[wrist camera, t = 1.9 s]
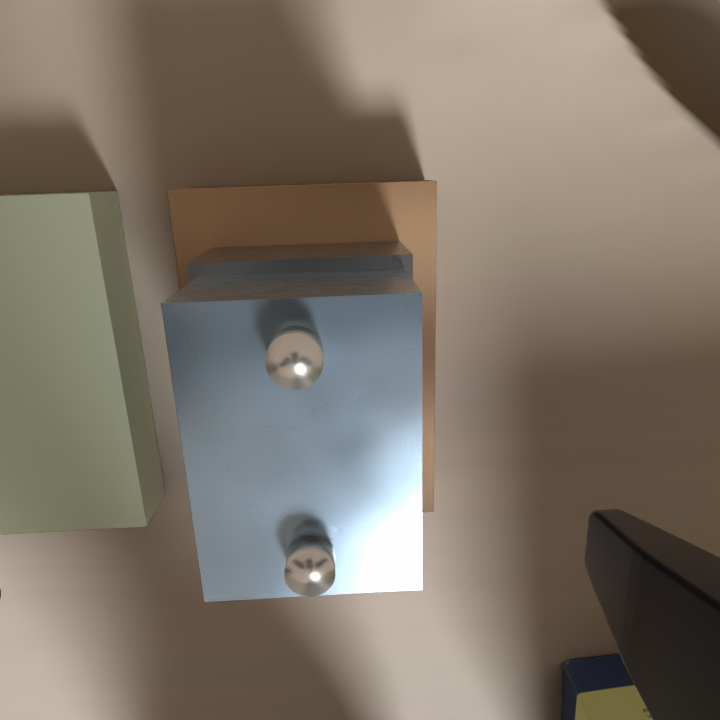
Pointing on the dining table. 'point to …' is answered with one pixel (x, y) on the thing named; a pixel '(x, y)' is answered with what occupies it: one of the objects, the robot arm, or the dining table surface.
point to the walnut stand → (324, 225)
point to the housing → (301, 417)
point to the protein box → (600, 691)
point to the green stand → (71, 370)
